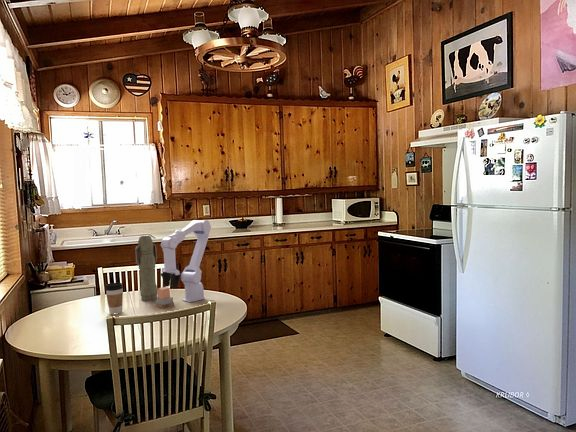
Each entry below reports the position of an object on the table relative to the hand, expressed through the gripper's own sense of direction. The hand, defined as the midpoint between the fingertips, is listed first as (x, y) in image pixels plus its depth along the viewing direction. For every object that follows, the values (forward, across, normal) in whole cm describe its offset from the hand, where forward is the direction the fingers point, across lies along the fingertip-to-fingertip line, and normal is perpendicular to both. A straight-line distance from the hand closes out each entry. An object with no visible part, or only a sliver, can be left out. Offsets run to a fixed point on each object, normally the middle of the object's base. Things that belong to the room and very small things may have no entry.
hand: (171, 287), depth 235 cm
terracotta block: (+6, -6, -1) cm, 8 cm away
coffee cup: (+11, -14, -24) cm, 29 cm away
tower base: (+11, -5, -1) cm, 12 cm away
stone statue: (+10, -26, 0) cm, 28 cm away
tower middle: (+8, -5, -1) cm, 10 cm away
